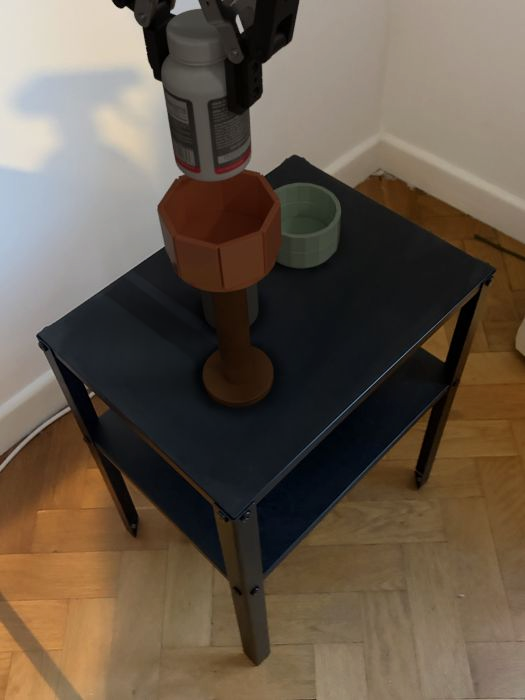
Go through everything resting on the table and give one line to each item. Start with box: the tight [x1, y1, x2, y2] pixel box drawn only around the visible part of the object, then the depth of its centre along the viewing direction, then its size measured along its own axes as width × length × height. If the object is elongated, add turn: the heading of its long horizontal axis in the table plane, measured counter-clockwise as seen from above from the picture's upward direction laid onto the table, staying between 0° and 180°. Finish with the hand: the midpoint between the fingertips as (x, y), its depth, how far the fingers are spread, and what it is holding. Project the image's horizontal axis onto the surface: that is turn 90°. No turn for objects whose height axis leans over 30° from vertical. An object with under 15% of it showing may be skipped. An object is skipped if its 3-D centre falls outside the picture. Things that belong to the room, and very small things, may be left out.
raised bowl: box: [156, 168, 282, 292], centre depth 56 cm, size 9×9×5 cm
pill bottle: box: [161, 8, 252, 182], centre depth 47 cm, size 5×5×10 cm
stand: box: [202, 288, 274, 408], centre depth 65 cm, size 7×7×18 cm
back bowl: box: [273, 182, 342, 269], centre depth 81 cm, size 9×9×5 cm
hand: (205, 90), depth 46 cm, fingers closed on pill bottle, 5 cm apart
